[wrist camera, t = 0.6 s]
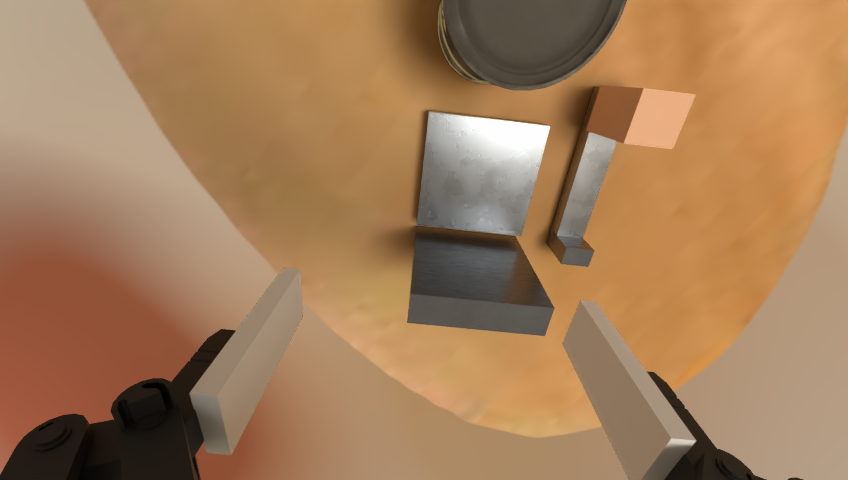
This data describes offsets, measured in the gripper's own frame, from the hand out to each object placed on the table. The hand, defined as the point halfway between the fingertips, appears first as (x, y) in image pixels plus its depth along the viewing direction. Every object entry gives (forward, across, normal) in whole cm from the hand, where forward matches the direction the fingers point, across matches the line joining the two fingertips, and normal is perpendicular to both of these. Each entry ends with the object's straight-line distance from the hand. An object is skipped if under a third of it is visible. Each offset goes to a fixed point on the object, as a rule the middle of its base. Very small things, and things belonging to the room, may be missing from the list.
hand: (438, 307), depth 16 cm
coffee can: (+24, +4, +14) cm, 28 cm away
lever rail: (+24, +16, +3) cm, 29 cm away
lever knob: (+22, +16, +9) cm, 28 cm away
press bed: (+24, +5, -2) cm, 24 cm away
